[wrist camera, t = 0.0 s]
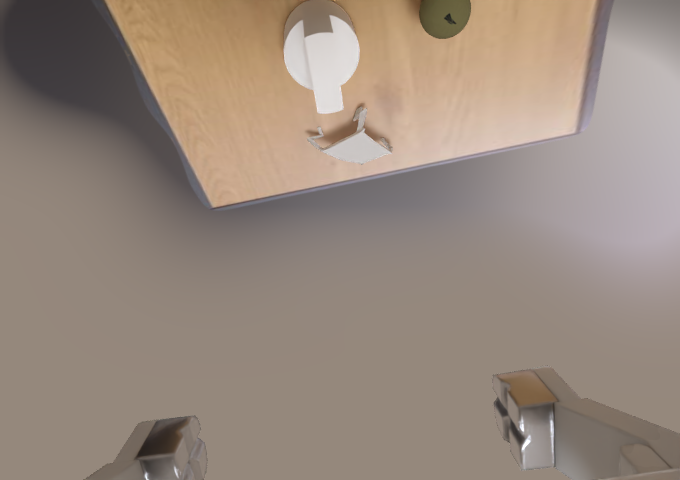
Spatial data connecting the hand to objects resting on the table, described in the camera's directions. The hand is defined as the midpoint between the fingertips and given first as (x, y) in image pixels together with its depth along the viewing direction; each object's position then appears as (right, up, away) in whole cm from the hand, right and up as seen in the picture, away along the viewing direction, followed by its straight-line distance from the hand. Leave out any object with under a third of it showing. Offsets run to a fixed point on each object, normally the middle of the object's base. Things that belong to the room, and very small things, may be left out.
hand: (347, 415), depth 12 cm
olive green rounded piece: (+11, +35, +43) cm, 57 cm away
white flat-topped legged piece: (+1, +21, +55) cm, 59 cm away
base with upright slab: (-3, +31, +46) cm, 55 cm away
